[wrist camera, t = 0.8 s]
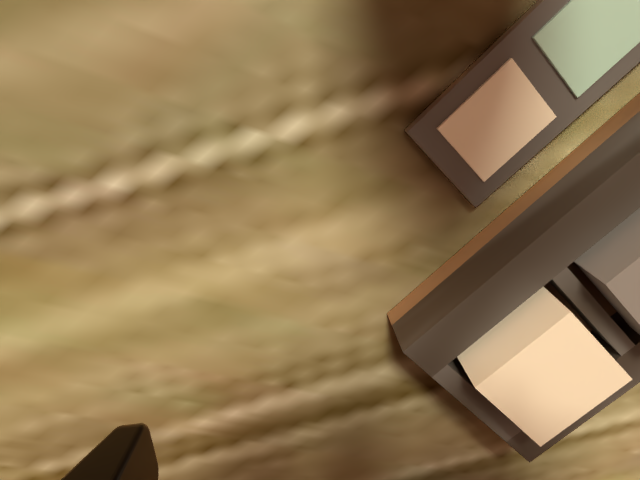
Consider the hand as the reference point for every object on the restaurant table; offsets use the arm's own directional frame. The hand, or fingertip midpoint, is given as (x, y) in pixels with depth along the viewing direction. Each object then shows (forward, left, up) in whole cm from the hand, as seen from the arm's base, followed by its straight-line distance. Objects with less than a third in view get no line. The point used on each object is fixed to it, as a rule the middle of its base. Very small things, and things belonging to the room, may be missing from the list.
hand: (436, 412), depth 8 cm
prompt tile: (-2, -8, -13) cm, 16 cm away
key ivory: (-10, -1, -11) cm, 15 cm away
